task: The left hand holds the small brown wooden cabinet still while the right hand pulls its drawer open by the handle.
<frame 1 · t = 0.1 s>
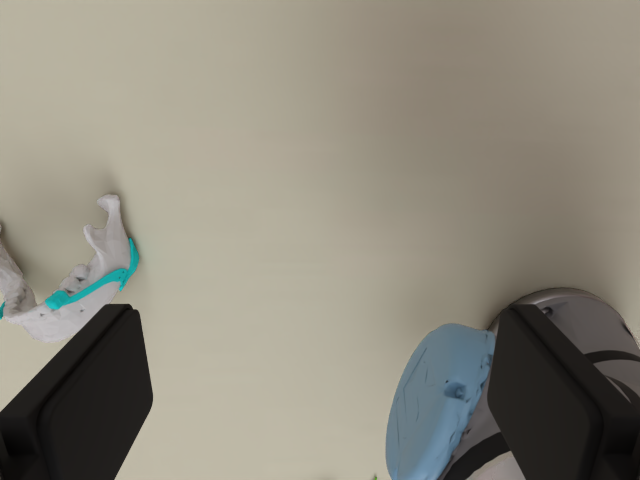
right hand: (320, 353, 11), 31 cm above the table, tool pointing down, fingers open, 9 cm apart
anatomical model: (75, 255, 44), on the table
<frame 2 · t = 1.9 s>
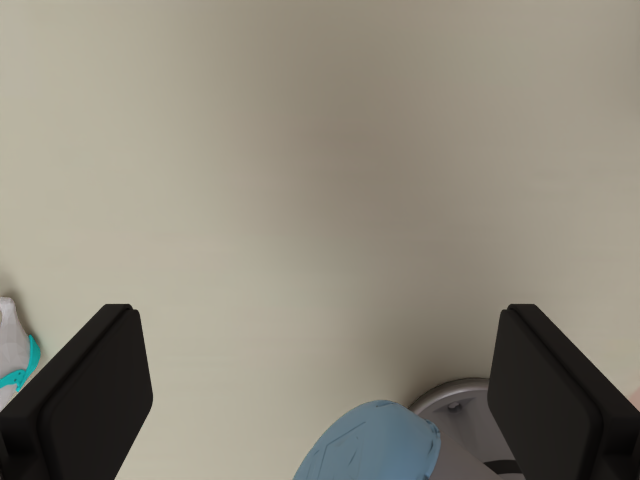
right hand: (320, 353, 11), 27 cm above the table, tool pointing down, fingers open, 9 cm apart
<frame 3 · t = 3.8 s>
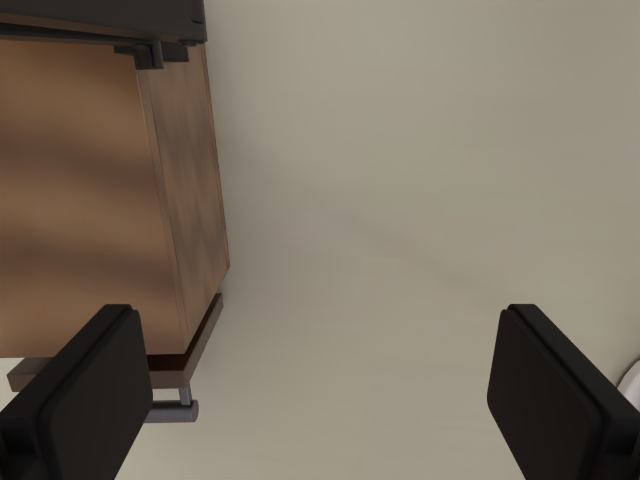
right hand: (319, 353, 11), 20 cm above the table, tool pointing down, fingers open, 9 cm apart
cabinet: (133, 134, 29), on the table, touching left hand
drawer: (114, 251, 26), point 6 cm above the table, slide at 1.7 cm
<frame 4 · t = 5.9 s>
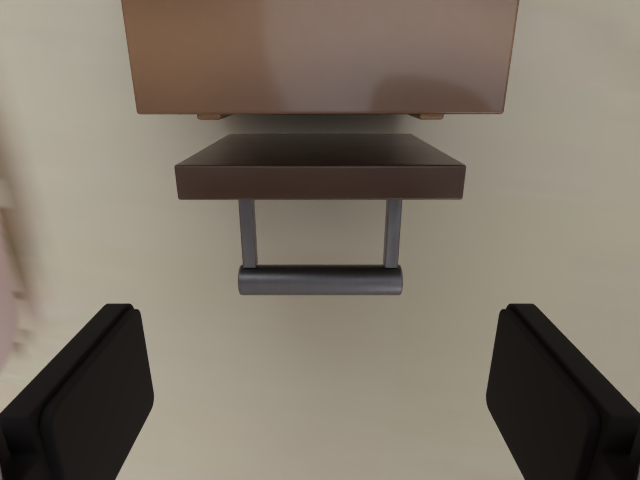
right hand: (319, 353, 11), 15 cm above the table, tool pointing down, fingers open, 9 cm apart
drawer: (320, 9, 17), point 6 cm above the table, slide at 1.7 cm
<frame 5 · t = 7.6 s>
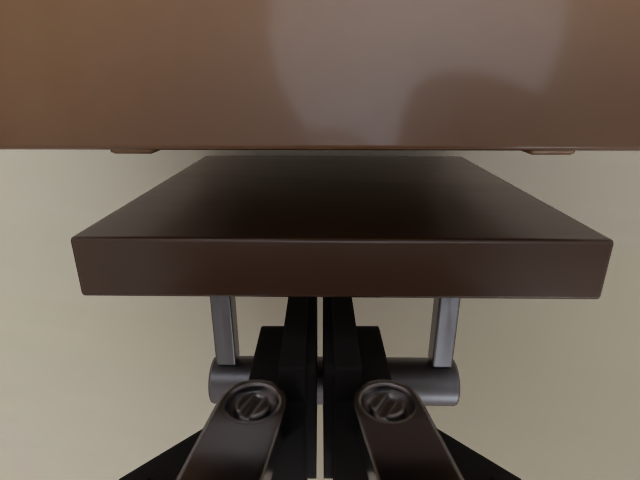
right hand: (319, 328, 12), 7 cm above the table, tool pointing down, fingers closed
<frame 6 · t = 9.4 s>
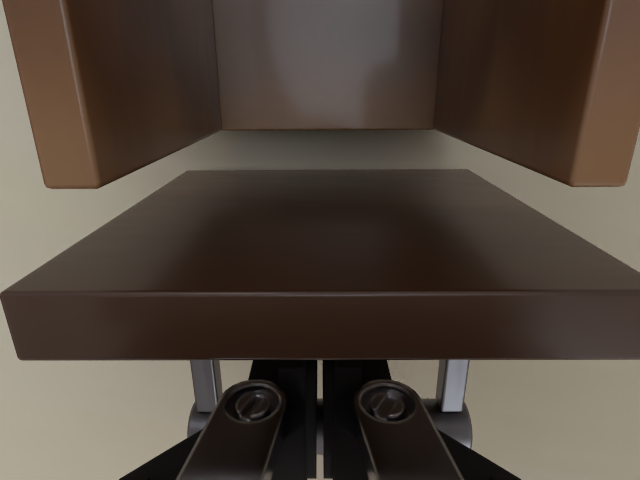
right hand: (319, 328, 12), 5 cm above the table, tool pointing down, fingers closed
when the left hand's fingers open (6 cm above the table, at t = 11.2 s): cabinet stays where it is, on the table.
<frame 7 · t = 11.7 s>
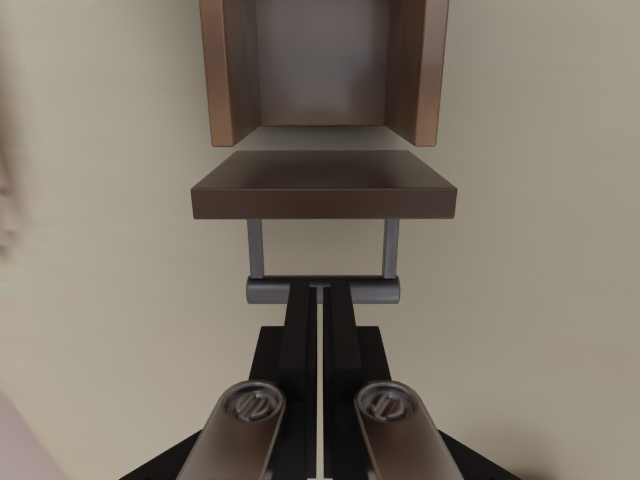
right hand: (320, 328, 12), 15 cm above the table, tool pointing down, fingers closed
drawer: (323, 40, 18), point 6 cm above the table, slide at 9.2 cm
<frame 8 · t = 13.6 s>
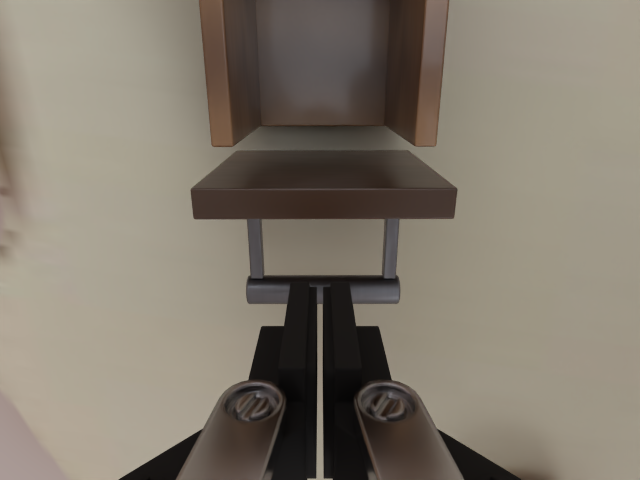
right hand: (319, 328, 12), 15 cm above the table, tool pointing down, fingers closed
drawer: (323, 40, 18), point 6 cm above the table, slide at 9.2 cm
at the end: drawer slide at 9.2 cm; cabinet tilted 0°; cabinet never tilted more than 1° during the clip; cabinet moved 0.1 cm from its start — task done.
